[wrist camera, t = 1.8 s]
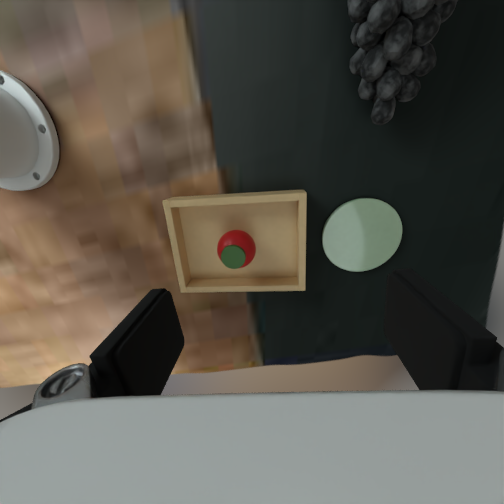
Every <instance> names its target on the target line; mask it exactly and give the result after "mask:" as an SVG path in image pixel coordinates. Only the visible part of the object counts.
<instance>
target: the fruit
mask: <svg viewBox="0 0 504 504" xmlns="http://www.w3.org/2000/svg"><path fill="white" fill-rule="evenodd" d="M457 1H458V0H348V2H347V4H348V15H349V18H350V20H351V22H353V23H356V24H355V26H354V27H353V28H352V32H351V36H350V38H351V40H352V43H353V45H354V46H356V47H358V48H359V49H358V51H357V52H356V53H355V54H354V55H353V56H352V57H351V59H350V70H351V72H352V73H353V74H355V75H359V76H361V77H362V80H361V83H360V85H359V88H358V93H359V96H360V98H361V99H363V100H370V99H372V98H373V100H372V101H373V102H374V107H373V110H372V113H371V119H372V122H373V123H375V124H376V125H383V124H385V123H387V122H388V121H390V120H391V118H392V117H393V114H394V110H395V106H396V100H395V97H396V99H397V100H398V101H400V102H407V101H410V100H412V99H413V98H414V97H415V96H416V95H417V93H418V92H419V90H420V88H421V86H420V81H419V80H418V79H417V77H416V76H419V77H421V76H424V75H426V74H427V73H429V72H430V71H431V70H432V69H433V68H434V66H435V65H436V53H435V50H434V47H433V45H432V44H431V43H429V42H431V41H432V39H433V38H434V37H435V35H436V34H437V33H438V31H439V28H440V25H441V23H442V22H444V21H446V20H447V19H448V18H449V17H450V16H451V15H452V13H453V11H454V9H455V7H456V4H457ZM387 63H389V65H390V66H387ZM386 66H387V67H386ZM415 75H416V76H415Z"/></svg>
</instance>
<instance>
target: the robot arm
mask: <svg viewBox="0 0 504 504" xmlns="http://www.w3.org/2000/svg"><path fill="white" fill-rule="evenodd" d="M58 161H59V142H58V136H57V133H56V129H55V126H54V124H53V121H52V119H51V117H50V115H49V113H48V111H47V110H46V108H45V107H44V105H43V103H42V102H41V101H40V100H39V98H38V97H37V96H36V95H35V93H34V92H33V91H32V90H31V89H29V88H28V87H27V86H26V85H25V84H24V83H23V82H21V81H20V80H18V79H17V78H15V77H14V76H12V75H10V74H8V73H6V72H4V71H1V70H0V187H1V188H4V189H8V190H12V191H25V190H32V189H36V188H39V187H41V186H43V185H44V184H46V183H47V182H48V181H49V180H50V179H51V178H52V177H53V175H54V173H55V171H56V169H57V165H58ZM384 332H385V336H386V338H387V339H388V341H389V342H390V344H391V346H392V347H393V349H394V350H395V352H396V353H397V355H398V356H399V358H400V360H401V361H402V363H403V365H404V366H405V368H406V369H407V371H408V372H409V374H410V376H411V377H412V379H413V380H414V382H415V383H416V385H417V387H418V388H419V390H392V391H391V390H387V391H329V392H328V391H327V392H326V391H323V392H275V393H273V392H271V393H225V394H189V395H161V393H162V391H163V389H164V387H165V385H166V382H167V380H168V378H169V376H170V374H171V372H172V370H173V368H174V366H175V364H176V362H177V359H178V357H179V355H180V353H181V351H182V349H183V347H184V336H183V333H182V329H181V326H180V322H179V319H178V316H177V312H176V309H175V305H174V302H173V299H172V295H171V293H170V292H169V291H167V290H166V289H165V288H163V289H152V290H151V291H150V292H149V293H148V294H147V295H146V296H145V297H144V298H143V299H142V300H141V301H140V302H139V303H138V304H137V305H136V307H135V308H134V309H133V310H132V311H131V312H130V313H129V314H128V315H127V316H126V317H125V318H124V319H123V320H122V322H121V323H120V324H119V325H118V326H117V327H116V328H115V329H114V330H113V331H112V332H111V333H110V334H109V335H108V337H107V338H106V339H105V340H104V341H103V342H102V343H101V344H100V345H99V346H98V347H97V348H96V349H95V350H94V352H93V353H92V354H91V355H90V358H91V360H92V363H91V364H90V365H89V366H88V365H86V364H83V363H78V364H73V365H70V366H67V367H65V368H63V369H61V370H59V371H57V372H55V373H54V374H52V375H51V376H50V377H48V378H47V379H46V380H45V381H44V382H43V383H42V384H41V385H40V386H39V387H38V388H37V390H36V392H35V395H34V399H33V403H31V404H30V405H28V406H26V407H24V408H22V409H20V410H18V411H17V412H15V413H13V414H11V415H9V416H7V417H5V418H3V419H1V420H0V504H504V348H503V347H502V346H501V345H500V344H499V343H497V342H496V340H497V337H496V336H495V335H493V334H492V333H491V332H489V331H488V330H487V329H486V328H485V327H483V326H482V325H481V324H479V323H478V322H477V321H476V320H474V319H473V318H472V317H471V316H469V315H468V314H467V313H466V312H464V311H463V310H462V309H461V308H459V307H458V306H457V305H456V304H454V303H453V302H452V301H451V300H449V299H448V298H447V297H446V296H444V295H443V294H442V293H441V292H439V291H438V290H437V289H436V288H434V287H433V286H432V285H431V284H429V283H428V282H427V281H426V280H424V279H423V278H422V277H421V276H419V275H418V274H417V273H416V272H414V271H413V270H412V269H410V268H409V269H397V270H393V272H392V273H391V274H388V278H387V292H386V305H385V319H384Z"/></svg>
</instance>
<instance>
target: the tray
mask: <svg viewBox="0 0 504 504" xmlns="http://www.w3.org/2000/svg"><path fill="white" fill-rule="evenodd" d="M162 202H163V207H164V212H165V217H166V222H167V227H168V232H169V237H170V242H171V247H172V252H173V257H174V262H175V267H176V272H177V277H178V282H179V287H180V292H181V293H186V292H247V291H298V290H299V291H305V275H306V208H307V193H306V192H305V191H304V190H286V191H269V192H252V193H234V194H217V195H200V196H183V197H171V198H169V199H166V200H163V201H162ZM231 230H242V231H245V232H246V233H248V234H249V235H250V236H251V237H252V238H253V240H254V242H255V245H256V253H255V256H254V259H253V260H252V261H251V263H250V264H248V265H247V266H245V267H243V268H238V269H231V268H228V267H226V266H225V265H224V264H223V263H222V262H221V260H220V259H219V257H218V253H217V245H218V242H219V240H220V238H221V237H222V236H223V235H224V234H225V233H226V232H228V231H231Z"/></svg>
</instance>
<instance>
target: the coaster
mask: <svg viewBox="0 0 504 504" xmlns="http://www.w3.org/2000/svg"><path fill="white" fill-rule="evenodd" d="M401 237H402V223H401V220H400V217H399V215H398V213H397V212H396V211H395V210H394V208H392V207H391V206H390V205H389V204H387V203H385V202H383V201H381V200H378V199H374V198H358V199H354V200H351V201H348V202H346V203H344V204H343V205H341V206H340V207H338V208H337V209H336V210H335V211H334V212H333V213H332V214H331V215H330V216H329V218H328V219H327V221H326V223H325V225H324V227H323V231H322V246H323V249H324V252H325V254H326V256H327V257H328V258H329V260H330V261H331V262H332V263H333V264H335V265H336V266H338V267H339V268H342V269H344V270H348V271H357V272H359V271H366V270H370V269H373V268H376V267H378V266H380V265H381V264H383V263H384V262H386V261H387V260H388V259H389V258H390V257H391V256H392V255H393V254H394V253H395V251H396V250H397V248H398V246H399V244H400V241H401Z"/></svg>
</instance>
